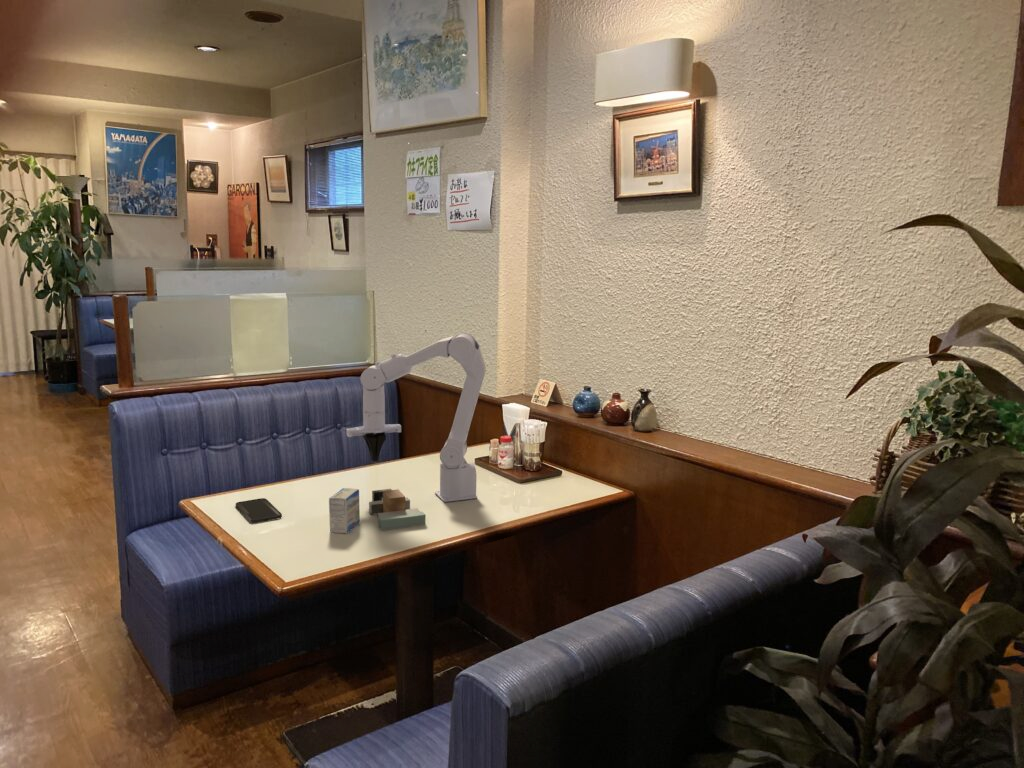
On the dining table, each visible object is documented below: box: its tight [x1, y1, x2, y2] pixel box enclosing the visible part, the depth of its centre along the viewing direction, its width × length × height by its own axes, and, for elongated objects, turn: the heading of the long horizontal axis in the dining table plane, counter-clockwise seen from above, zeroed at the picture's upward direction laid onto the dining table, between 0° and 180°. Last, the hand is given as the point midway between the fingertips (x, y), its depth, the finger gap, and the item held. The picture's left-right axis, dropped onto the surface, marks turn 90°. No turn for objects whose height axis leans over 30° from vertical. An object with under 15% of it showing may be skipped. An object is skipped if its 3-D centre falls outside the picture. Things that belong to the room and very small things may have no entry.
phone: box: [235, 497, 283, 524], centre depth 193 cm, size 8×1×15 cm
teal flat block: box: [377, 507, 426, 531], centre depth 187 cm, size 11×5×2 cm, turn 115°
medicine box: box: [328, 487, 361, 534], centre depth 183 cm, size 8×4×9 cm, turn 168°
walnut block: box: [383, 488, 406, 513], centre depth 191 cm, size 4×6×6 cm, turn 25°
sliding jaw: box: [368, 488, 411, 515], centre depth 198 cm, size 10×9×3 cm
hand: (374, 460), depth 207 cm, fingers closed
